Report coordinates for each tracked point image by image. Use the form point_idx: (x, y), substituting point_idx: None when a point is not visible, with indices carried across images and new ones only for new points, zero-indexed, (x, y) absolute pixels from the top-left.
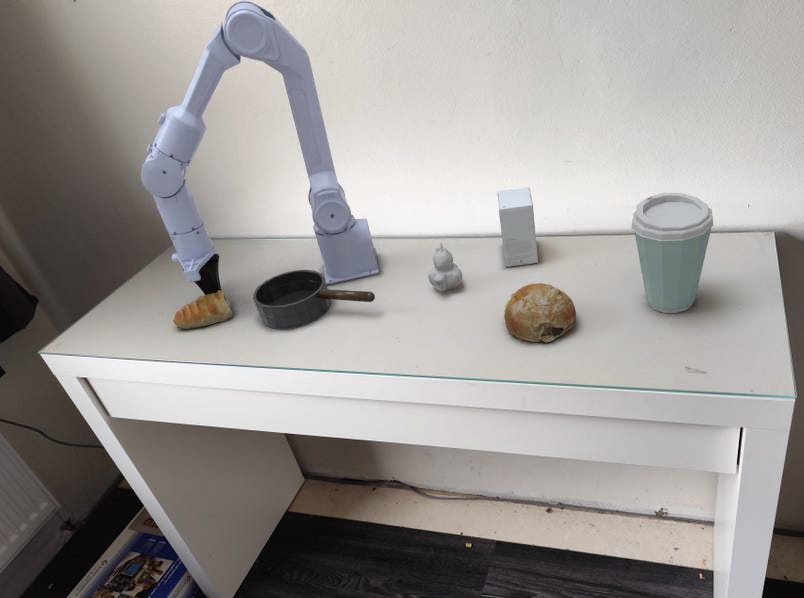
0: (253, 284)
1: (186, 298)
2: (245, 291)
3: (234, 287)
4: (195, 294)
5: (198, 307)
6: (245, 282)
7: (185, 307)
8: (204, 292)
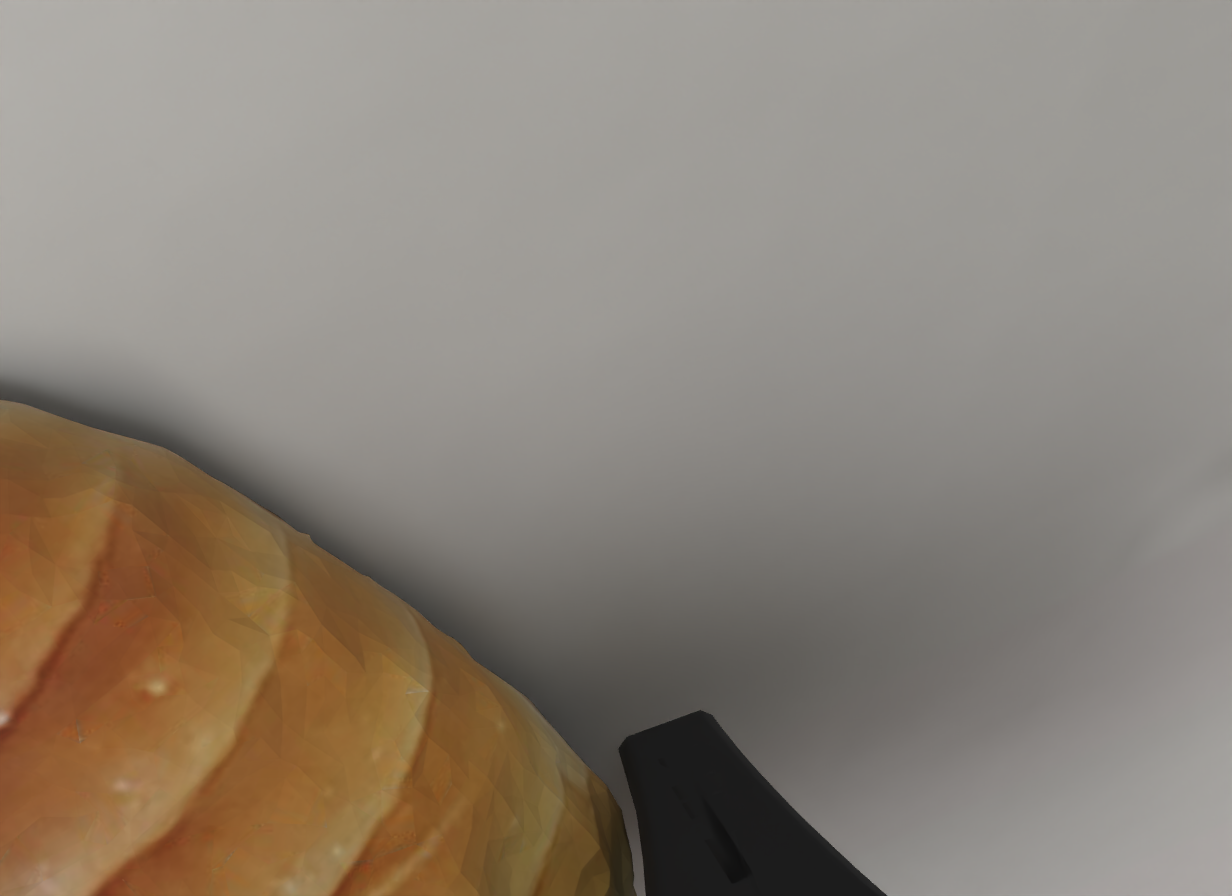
0: (1023, 893)
1: (1030, 33)
2: (883, 891)
3: (1052, 713)
4: (1109, 170)
5: None
6: (1121, 783)
7: (89, 786)
8: (650, 893)
